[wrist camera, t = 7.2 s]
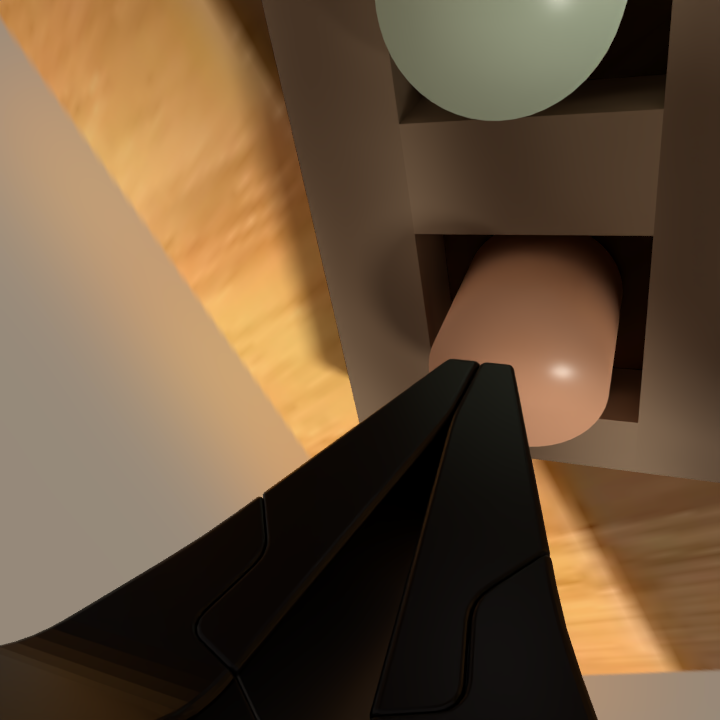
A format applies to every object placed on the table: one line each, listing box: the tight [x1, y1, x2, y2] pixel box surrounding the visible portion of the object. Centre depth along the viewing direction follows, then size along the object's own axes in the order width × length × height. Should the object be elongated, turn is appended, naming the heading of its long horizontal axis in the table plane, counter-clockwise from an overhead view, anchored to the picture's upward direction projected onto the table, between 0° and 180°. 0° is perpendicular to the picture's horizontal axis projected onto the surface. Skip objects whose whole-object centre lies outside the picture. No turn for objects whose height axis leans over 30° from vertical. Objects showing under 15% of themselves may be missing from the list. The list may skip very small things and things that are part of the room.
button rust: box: [428, 235, 623, 447], centre depth 19 cm, size 5×5×4 cm
